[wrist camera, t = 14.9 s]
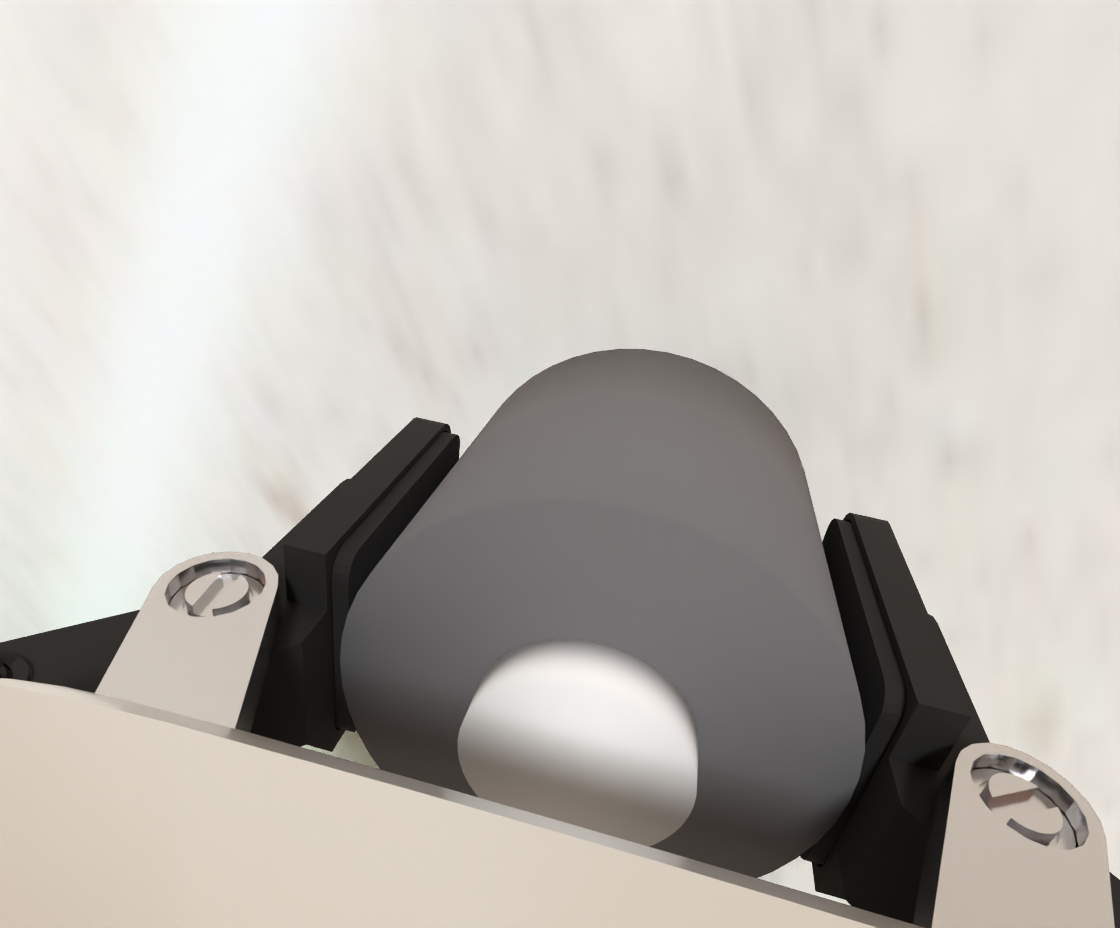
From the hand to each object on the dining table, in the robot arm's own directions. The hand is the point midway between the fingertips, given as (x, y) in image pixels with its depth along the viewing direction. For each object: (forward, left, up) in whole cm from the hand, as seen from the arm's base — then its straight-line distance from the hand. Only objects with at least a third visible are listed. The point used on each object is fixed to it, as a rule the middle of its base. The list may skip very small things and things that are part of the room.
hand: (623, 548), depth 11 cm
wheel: (0, 0, -1) cm, 1 cm away
